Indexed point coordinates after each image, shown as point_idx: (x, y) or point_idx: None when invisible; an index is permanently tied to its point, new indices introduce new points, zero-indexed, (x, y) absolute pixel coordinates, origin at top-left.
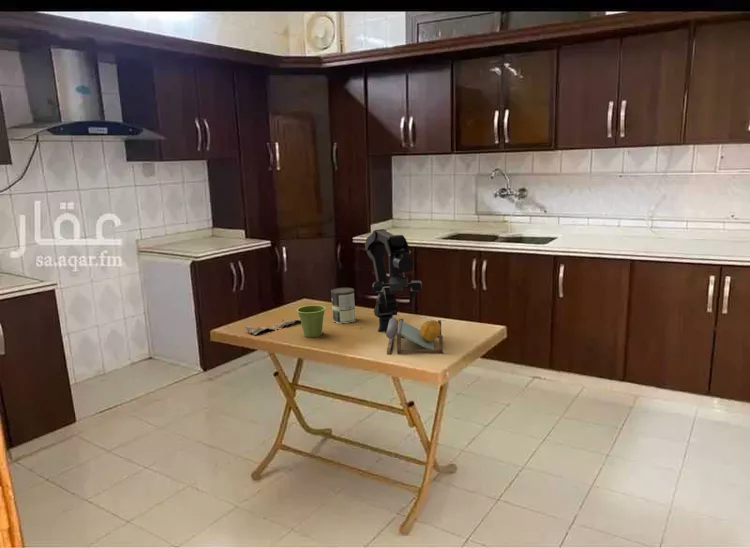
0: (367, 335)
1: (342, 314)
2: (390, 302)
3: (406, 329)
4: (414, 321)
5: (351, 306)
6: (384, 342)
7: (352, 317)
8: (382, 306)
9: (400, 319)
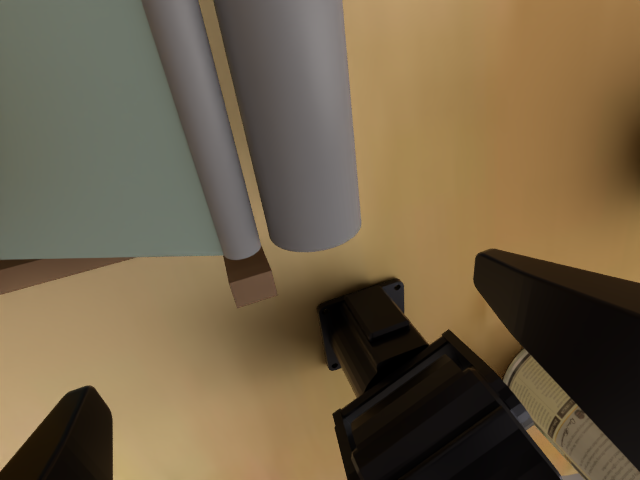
0: (448, 205)
1: None
2: (429, 471)
3: (72, 1)
4: (247, 464)
5: (578, 419)
6: None
7: (529, 376)
8: (479, 394)
9: (256, 275)
